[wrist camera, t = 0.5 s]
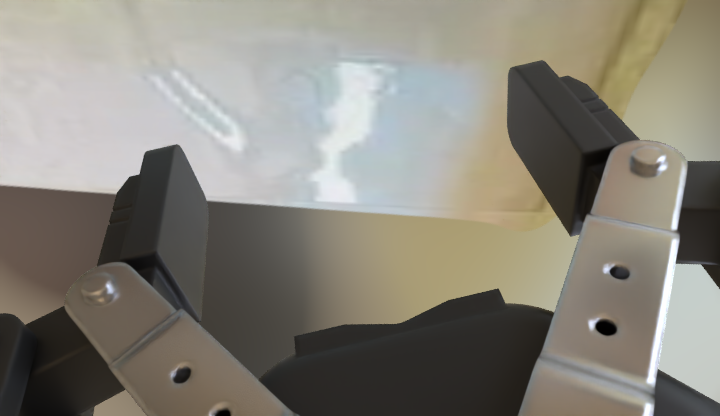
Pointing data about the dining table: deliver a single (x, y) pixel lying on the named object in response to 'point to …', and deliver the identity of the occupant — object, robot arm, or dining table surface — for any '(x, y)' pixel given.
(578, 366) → the robot arm
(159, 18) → the dining table surface
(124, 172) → the dining table surface
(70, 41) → the dining table surface
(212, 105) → the dining table surface
